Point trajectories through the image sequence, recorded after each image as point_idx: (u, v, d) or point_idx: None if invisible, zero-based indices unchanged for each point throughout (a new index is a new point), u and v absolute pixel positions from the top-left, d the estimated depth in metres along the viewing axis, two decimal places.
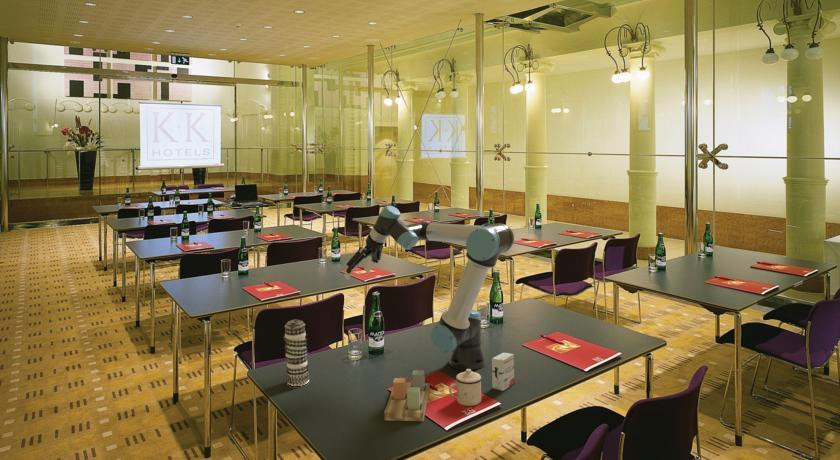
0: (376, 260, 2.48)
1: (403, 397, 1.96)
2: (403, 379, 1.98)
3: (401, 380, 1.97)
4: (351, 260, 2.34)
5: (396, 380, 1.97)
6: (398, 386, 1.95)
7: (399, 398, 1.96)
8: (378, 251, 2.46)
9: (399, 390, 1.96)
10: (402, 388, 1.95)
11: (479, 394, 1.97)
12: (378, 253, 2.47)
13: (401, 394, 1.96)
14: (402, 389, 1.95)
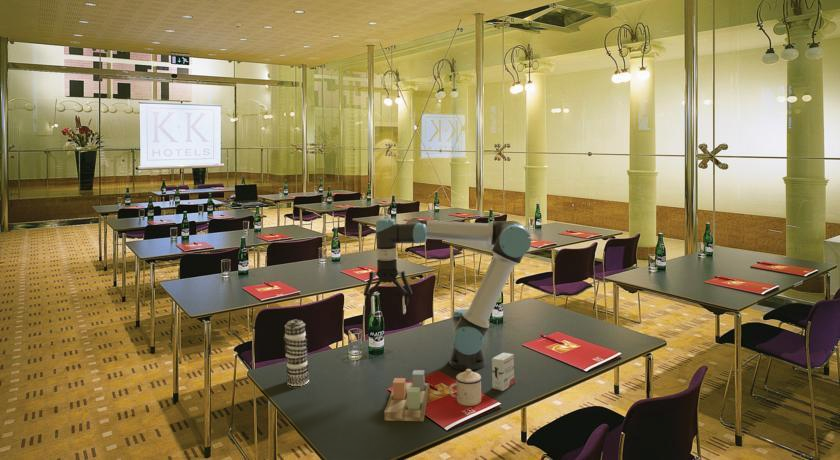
0: None
1: (403, 397, 1.96)
2: (403, 379, 1.98)
3: (401, 380, 1.97)
4: (409, 287, 2.17)
5: (396, 380, 1.97)
6: (398, 386, 1.95)
7: (399, 398, 1.96)
8: (371, 281, 2.19)
9: (399, 390, 1.96)
10: (402, 388, 1.95)
11: (479, 394, 1.97)
12: (370, 284, 2.19)
13: (401, 394, 1.96)
14: (402, 389, 1.95)
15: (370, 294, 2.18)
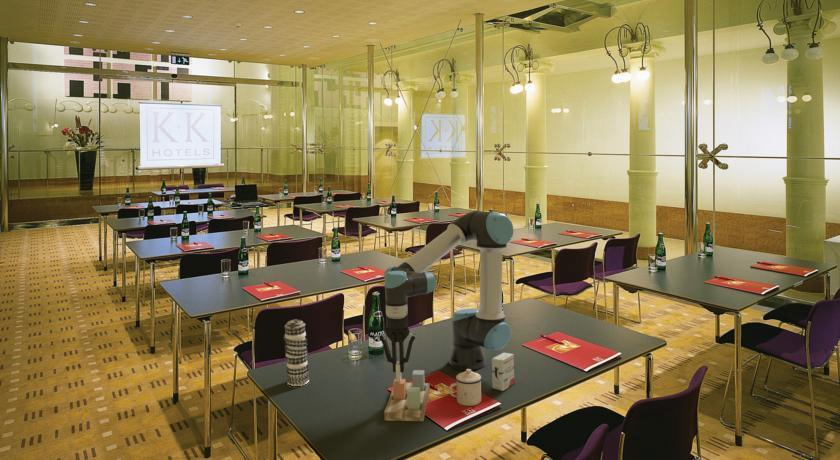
0: None
1: (403, 398, 1.96)
2: (403, 380, 1.98)
3: (401, 380, 1.97)
4: (409, 354, 1.95)
5: None
6: (398, 387, 1.95)
7: (399, 399, 1.96)
8: (387, 343, 1.96)
9: (399, 391, 1.96)
10: (402, 389, 1.95)
11: (479, 394, 1.97)
12: (388, 347, 1.96)
13: (401, 395, 1.96)
14: (402, 390, 1.95)
15: (393, 360, 1.95)
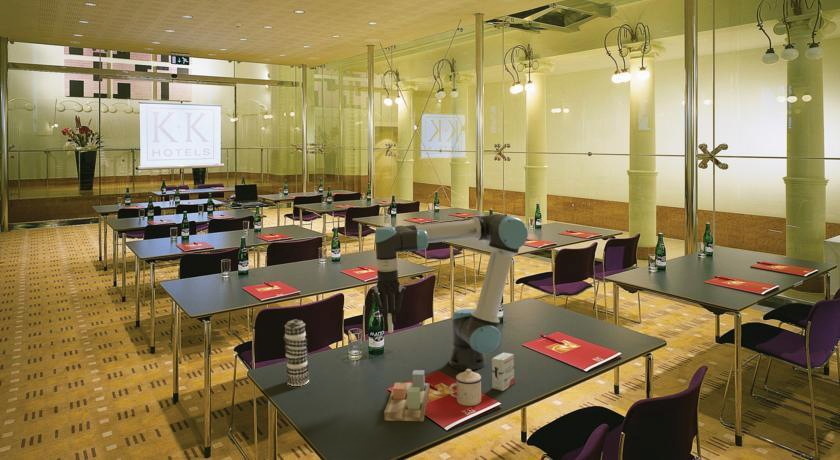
0: None
1: None
2: (403, 385, 1.98)
3: (401, 386, 1.98)
4: (400, 305, 2.06)
5: (396, 387, 1.97)
6: (398, 393, 1.96)
7: None
8: (378, 296, 2.07)
9: (399, 396, 1.96)
10: (402, 394, 1.96)
11: (479, 394, 1.97)
12: (379, 299, 2.07)
13: None
14: (402, 395, 1.96)
15: (385, 312, 2.06)
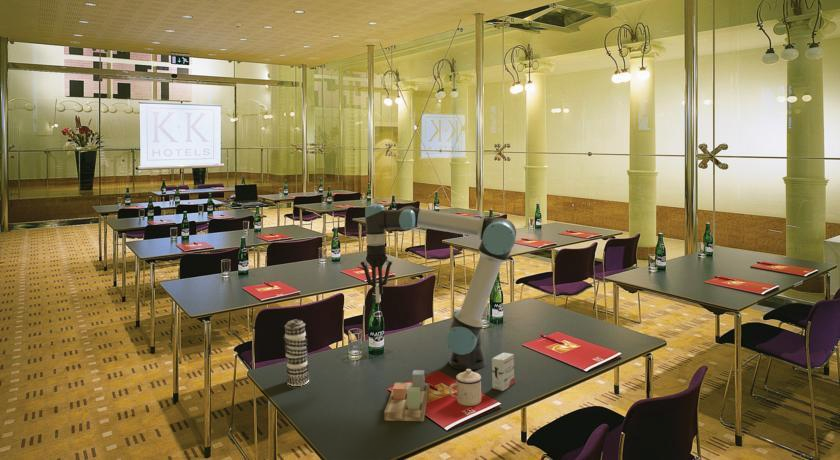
0: None
1: None
2: (403, 385, 1.98)
3: (401, 386, 1.98)
4: (387, 278, 2.22)
5: (396, 387, 1.97)
6: (398, 393, 1.96)
7: None
8: (367, 269, 2.24)
9: (399, 396, 1.96)
10: (402, 394, 1.96)
11: (479, 394, 1.97)
12: (368, 272, 2.24)
13: None
14: (402, 395, 1.96)
15: (373, 283, 2.23)
